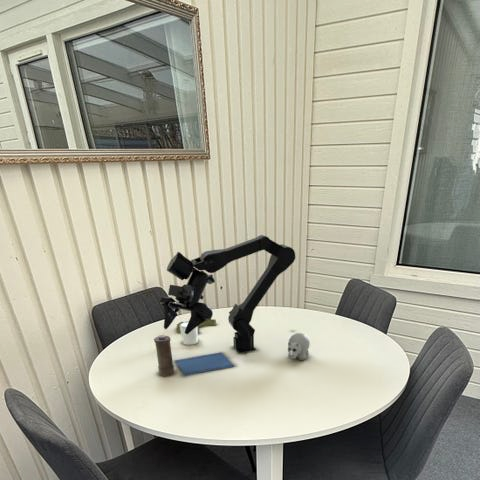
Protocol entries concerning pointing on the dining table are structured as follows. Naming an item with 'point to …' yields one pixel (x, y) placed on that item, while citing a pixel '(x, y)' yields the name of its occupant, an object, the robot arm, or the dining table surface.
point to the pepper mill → (164, 355)
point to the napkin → (203, 363)
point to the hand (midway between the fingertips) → (175, 331)
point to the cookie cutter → (205, 323)
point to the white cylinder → (189, 334)
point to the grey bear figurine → (298, 346)
